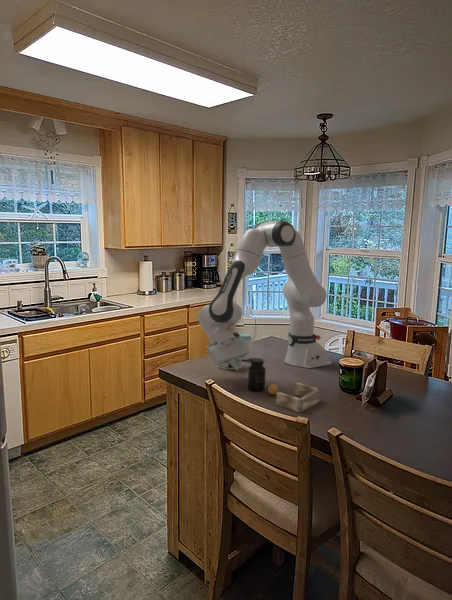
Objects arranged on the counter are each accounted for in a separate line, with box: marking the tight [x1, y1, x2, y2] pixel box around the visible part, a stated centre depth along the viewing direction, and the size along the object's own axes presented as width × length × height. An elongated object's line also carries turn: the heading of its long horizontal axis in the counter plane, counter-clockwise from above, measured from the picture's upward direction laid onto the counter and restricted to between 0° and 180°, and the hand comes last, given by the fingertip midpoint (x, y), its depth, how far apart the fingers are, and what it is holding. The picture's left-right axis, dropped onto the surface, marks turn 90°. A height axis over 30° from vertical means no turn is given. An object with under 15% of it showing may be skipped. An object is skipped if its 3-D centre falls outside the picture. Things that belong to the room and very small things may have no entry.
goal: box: [275, 382, 322, 413], centre depth 157 cm, size 10×14×4 cm
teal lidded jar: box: [239, 332, 252, 361], centre depth 207 cm, size 7×7×12 cm
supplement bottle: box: [247, 357, 267, 393], centre depth 169 cm, size 7×7×12 cm
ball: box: [267, 383, 280, 396], centre depth 164 cm, size 4×4×4 cm
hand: (239, 368), depth 174 cm, fingers closed
